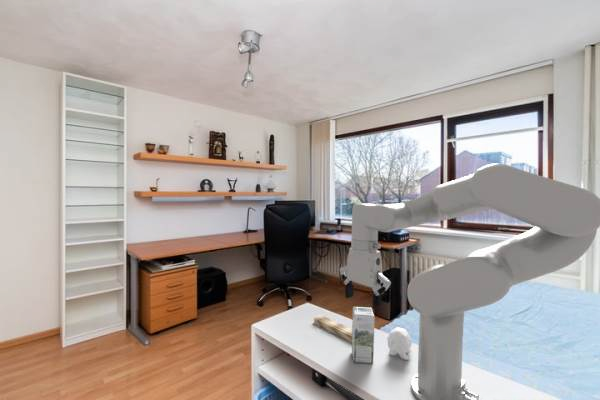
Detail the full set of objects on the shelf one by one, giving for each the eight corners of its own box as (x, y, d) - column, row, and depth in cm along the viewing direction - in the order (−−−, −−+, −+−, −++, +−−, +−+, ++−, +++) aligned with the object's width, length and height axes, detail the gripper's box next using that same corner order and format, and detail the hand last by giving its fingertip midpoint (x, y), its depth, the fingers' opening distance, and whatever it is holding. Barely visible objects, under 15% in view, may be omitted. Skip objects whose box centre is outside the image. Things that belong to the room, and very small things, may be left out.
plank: (369, 343, 90) (370, 336, 90) (363, 347, 87) (363, 340, 87) (320, 319, 106) (321, 313, 106) (314, 322, 104) (314, 316, 103)
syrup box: (370, 353, 84) (371, 306, 84) (373, 365, 79) (374, 314, 78) (351, 351, 85) (352, 305, 85) (353, 363, 79) (354, 313, 79)
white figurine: (386, 328, 82) (396, 317, 92) (385, 357, 82) (395, 343, 92) (408, 334, 79) (416, 322, 89) (407, 365, 78) (415, 349, 88)
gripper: (397, 248, 77) (395, 308, 78) (348, 239, 90) (347, 291, 91) (383, 252, 72) (381, 316, 73) (333, 242, 85) (332, 296, 86)
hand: (362, 302), depth 82 cm, fingers open, 9 cm apart
